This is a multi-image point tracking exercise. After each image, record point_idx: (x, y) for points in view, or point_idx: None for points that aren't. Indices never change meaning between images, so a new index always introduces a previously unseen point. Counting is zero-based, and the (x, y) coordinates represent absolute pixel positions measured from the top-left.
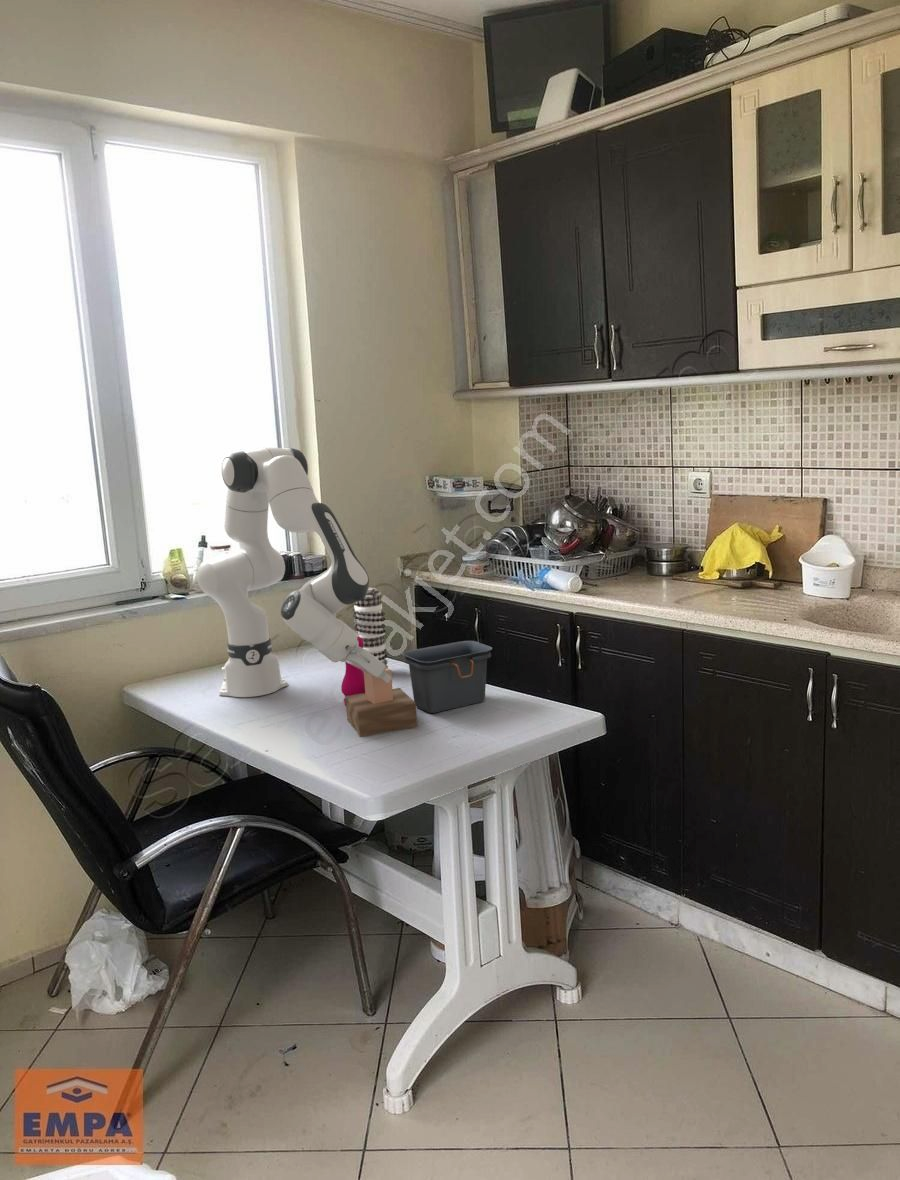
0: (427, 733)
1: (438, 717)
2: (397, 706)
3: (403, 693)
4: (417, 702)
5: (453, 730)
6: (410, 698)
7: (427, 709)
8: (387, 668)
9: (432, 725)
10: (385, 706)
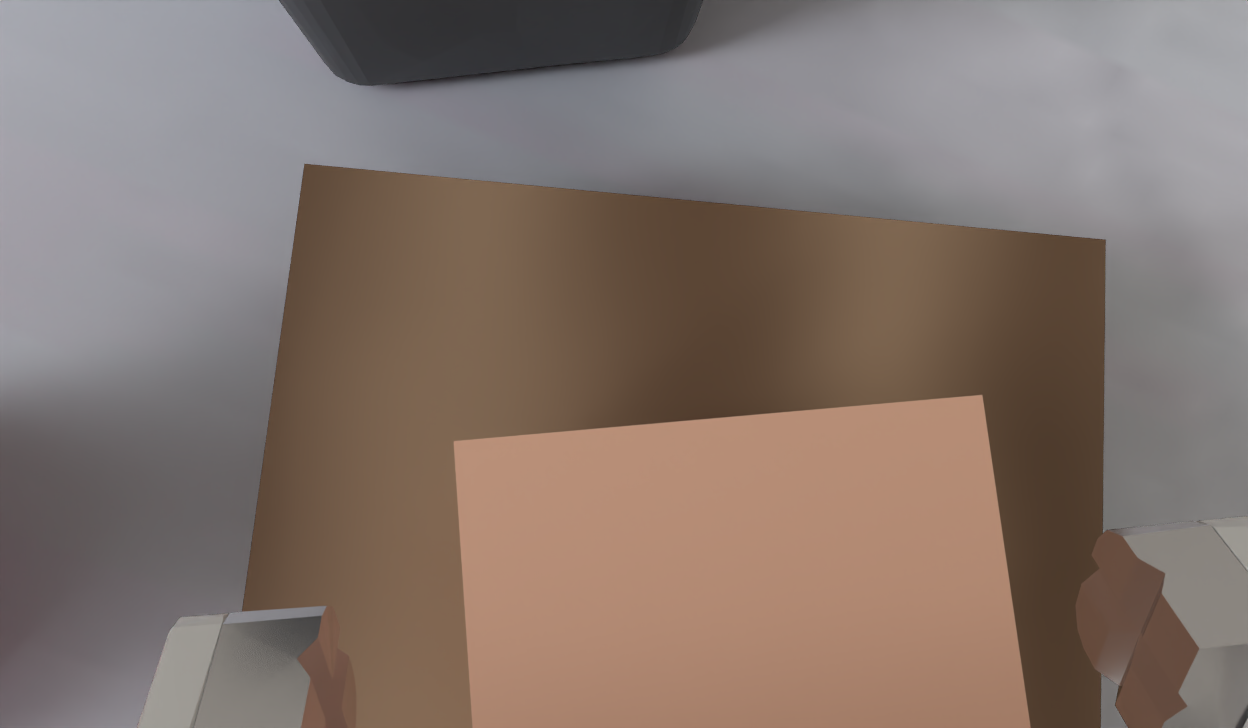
0: (1194, 295)
1: (798, 23)
2: (1101, 498)
3: (600, 220)
4: (427, 59)
5: (1230, 58)
6: (872, 224)
7: (650, 47)
8: (809, 428)
9: (995, 165)
10: (1044, 655)
